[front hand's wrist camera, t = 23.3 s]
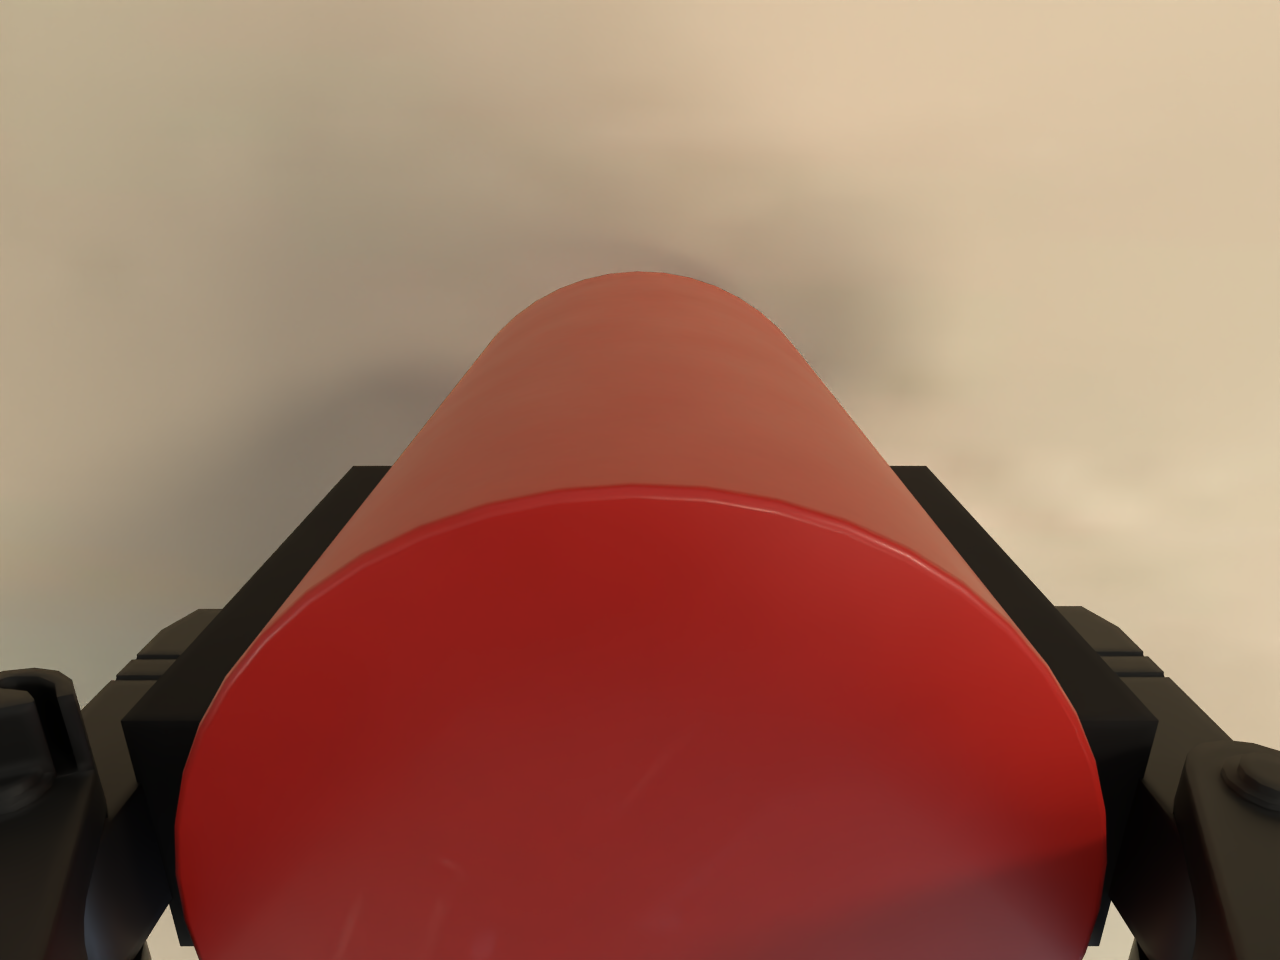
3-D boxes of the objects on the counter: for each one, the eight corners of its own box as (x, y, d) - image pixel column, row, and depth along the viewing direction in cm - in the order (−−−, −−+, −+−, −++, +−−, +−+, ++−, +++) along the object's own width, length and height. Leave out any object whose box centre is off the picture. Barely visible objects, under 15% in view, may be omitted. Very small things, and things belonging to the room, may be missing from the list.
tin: (395, 333, 16) (-22, 642, 6) (782, 220, 16) (1061, 352, 5) (523, 659, 19) (384, 1260, 9) (859, 576, 18) (1144, 1126, 8)
